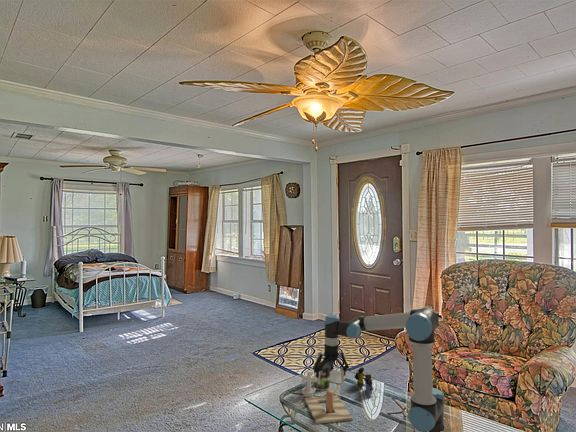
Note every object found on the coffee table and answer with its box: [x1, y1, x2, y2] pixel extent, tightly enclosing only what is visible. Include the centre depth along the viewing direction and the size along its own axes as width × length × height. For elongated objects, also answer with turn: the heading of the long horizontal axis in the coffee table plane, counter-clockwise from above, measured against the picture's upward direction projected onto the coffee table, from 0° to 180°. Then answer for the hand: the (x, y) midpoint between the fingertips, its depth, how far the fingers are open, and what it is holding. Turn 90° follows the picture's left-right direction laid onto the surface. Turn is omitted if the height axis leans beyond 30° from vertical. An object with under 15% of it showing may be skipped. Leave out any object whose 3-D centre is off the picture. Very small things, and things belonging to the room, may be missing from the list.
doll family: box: [353, 367, 374, 398], centre depth 236 cm, size 23×9×13 cm, turn 23°
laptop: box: [327, 361, 350, 385], centre depth 254 cm, size 18×12×13 cm
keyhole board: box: [304, 395, 354, 425], centre depth 212 cm, size 24×20×2 cm
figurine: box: [301, 369, 317, 398], centre depth 227 cm, size 7×9×15 cm
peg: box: [325, 389, 335, 414], centre depth 209 cm, size 4×4×12 cm
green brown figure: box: [312, 361, 331, 392], centre depth 239 cm, size 10×10×14 cm
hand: (330, 382), depth 208 cm, fingers open, 13 cm apart
